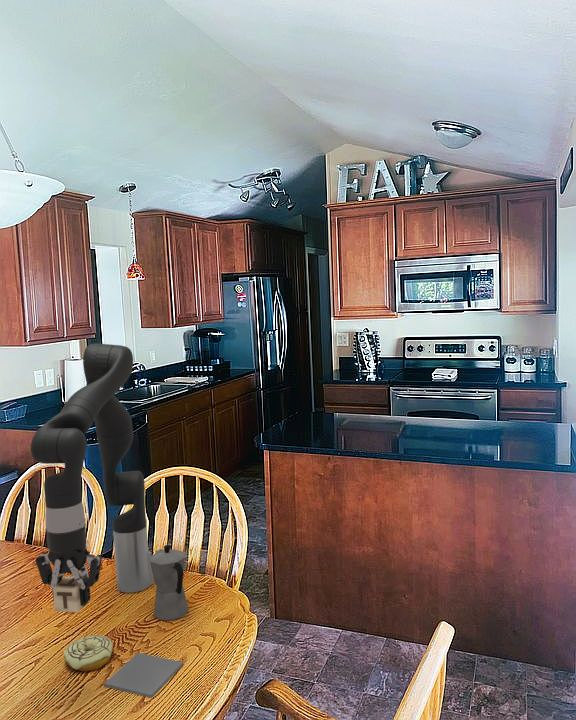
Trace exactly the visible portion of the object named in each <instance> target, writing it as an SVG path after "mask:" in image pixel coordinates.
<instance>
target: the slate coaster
mask: <svg viewBox="0 0 576 720" xmlns="http://www.w3.org/2000/svg"><path fill="white" fill-rule="evenodd" d="M183 666H184V662H183V661H178V660H175V659H169V658H164V657H159V656H156V655H151V654H147V653H141V652H137V653H136V654H135V655H134V656H133V657H132V658H130V659H129V660H128V661H127V662H126V663H125V664H124V665H123V666H122V667H120V669H118V670H117V671H116V672H114V674H113V675H112V676H110V677H109V678H108V679H107V680H106V681H105V682H104V683H103V686H104V687H106V688H111V689H113V690H114V689H115V690H119V691H123V692H127V693H131V694H134V695H135V694H136V695H139V696H144V697H147V698H151V699H152V698H153V697H154V696H155V695H156V694H157V693H158V692H159V691H160V690H161V689H162V687H164V685H165V684H166V683H167V682H168V681H170V679H171V678H172V677H173V676H174V675H175V674H177V672H178V671H179V669H181V668H182V667H183Z"/></svg>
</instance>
